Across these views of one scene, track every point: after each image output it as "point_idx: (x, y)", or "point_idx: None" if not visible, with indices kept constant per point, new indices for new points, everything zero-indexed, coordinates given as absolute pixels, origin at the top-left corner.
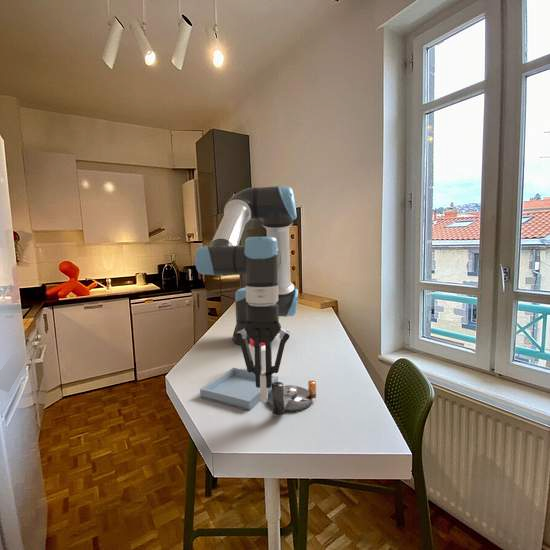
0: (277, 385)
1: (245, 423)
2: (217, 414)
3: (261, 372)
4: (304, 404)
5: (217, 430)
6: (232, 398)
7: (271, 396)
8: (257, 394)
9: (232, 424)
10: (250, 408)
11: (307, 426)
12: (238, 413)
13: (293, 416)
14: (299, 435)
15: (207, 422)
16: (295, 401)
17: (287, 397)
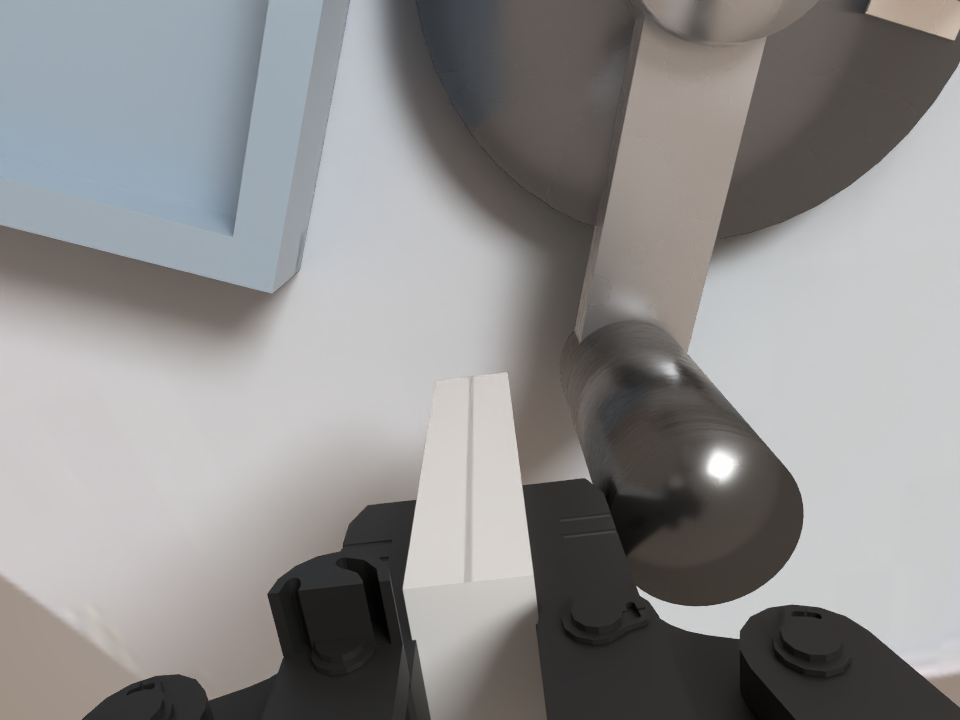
0: (709, 559)
1: (338, 466)
2: (26, 381)
3: (418, 633)
4: (891, 136)
5: (160, 582)
6: (38, 230)
7: (471, 3)
8: (305, 102)
9: (237, 496)
10: (298, 257)
11: (873, 420)
12: (210, 332)
13: (747, 291)
14: (803, 537)
15: (18, 504)
16: (785, 81)
17: (710, 121)
